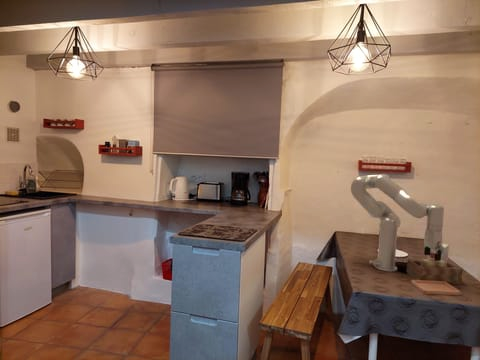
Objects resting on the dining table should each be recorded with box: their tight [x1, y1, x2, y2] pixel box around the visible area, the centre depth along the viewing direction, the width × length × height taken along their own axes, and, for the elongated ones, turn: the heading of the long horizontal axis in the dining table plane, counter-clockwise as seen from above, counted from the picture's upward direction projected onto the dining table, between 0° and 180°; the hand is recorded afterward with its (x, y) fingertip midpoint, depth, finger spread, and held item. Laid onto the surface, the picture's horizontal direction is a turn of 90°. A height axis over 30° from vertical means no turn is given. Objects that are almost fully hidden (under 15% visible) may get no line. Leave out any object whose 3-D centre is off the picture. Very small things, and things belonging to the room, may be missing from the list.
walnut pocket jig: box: [406, 258, 464, 285], centre depth 180 cm, size 22×14×8 cm, turn 89°
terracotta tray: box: [410, 279, 462, 296], centre depth 166 cm, size 18×13×2 cm
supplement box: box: [427, 242, 450, 261], centre depth 197 cm, size 9×9×15 cm
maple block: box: [420, 258, 447, 267], centre depth 180 cm, size 12×4×6 cm, turn 89°
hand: (432, 257), depth 179 cm, fingers open, 9 cm apart
